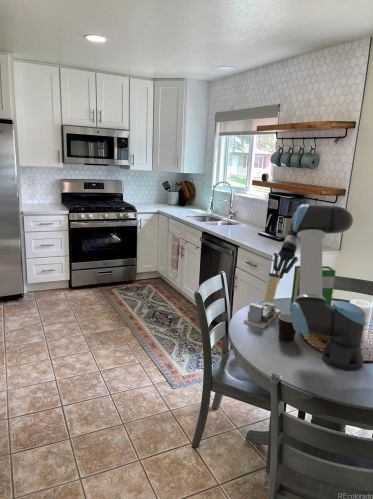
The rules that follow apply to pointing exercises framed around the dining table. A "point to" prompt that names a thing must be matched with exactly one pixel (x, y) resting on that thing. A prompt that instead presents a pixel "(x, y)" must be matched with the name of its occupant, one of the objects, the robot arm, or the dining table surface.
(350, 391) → the dining table surface
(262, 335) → the dining table surface
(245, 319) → the birch board
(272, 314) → the heat-sink block
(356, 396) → the dining table surface
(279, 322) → the coffee mug
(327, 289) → the hardback book
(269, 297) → the tan flat bar
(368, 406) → the dining table surface
